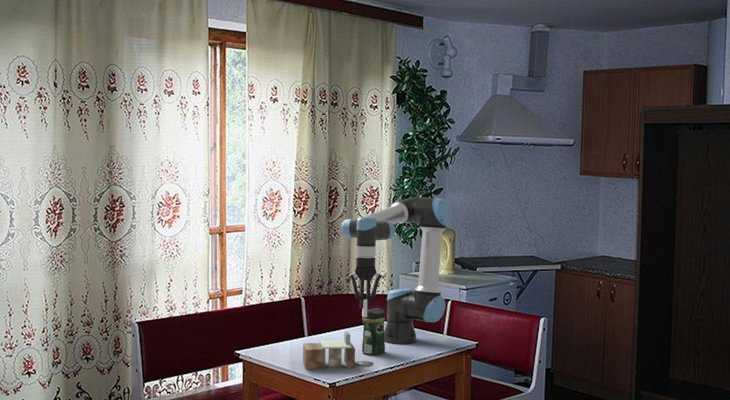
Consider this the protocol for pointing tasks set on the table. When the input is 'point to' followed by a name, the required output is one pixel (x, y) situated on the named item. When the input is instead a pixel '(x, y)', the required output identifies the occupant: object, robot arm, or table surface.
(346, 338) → the cover
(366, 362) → the grey round disc
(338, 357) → the block
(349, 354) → the brown and beige stand
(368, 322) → the coffee jar
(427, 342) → the table surface
